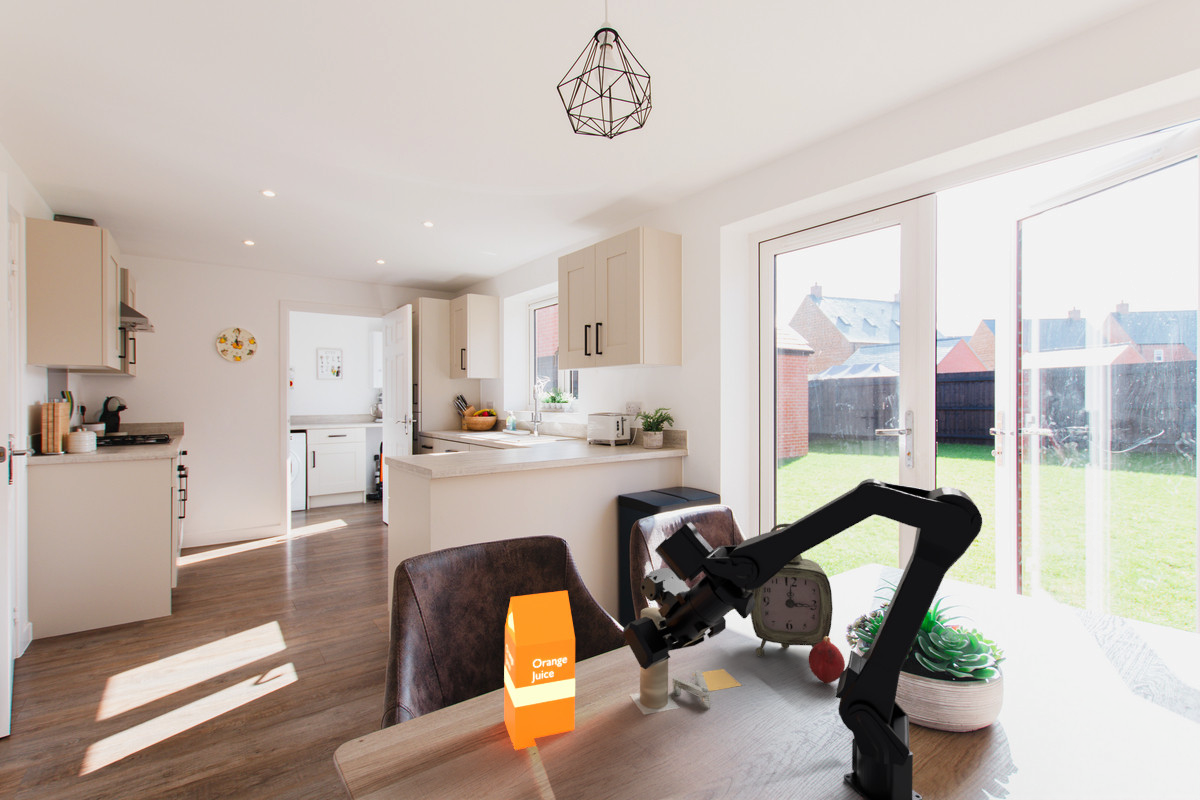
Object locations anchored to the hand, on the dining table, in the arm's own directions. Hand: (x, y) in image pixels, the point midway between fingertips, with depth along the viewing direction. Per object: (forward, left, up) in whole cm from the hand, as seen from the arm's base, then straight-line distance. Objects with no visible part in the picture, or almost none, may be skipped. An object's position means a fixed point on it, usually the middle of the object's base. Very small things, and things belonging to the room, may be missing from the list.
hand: (647, 653), depth 90 cm
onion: (-3, -32, -8) cm, 33 cm away
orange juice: (-1, +18, -8) cm, 20 cm away
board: (-2, -7, -8) cm, 11 cm away
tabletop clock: (+9, -33, -8) cm, 35 cm away
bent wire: (-2, -7, -7) cm, 10 cm away
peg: (-1, -1, -7) cm, 7 cm away
